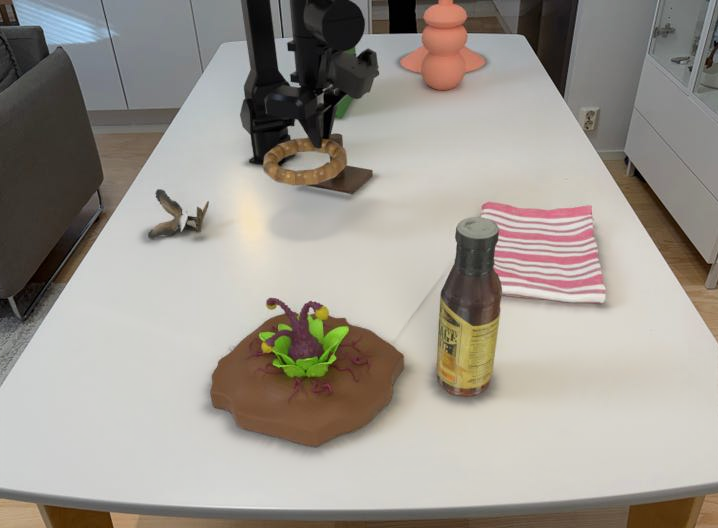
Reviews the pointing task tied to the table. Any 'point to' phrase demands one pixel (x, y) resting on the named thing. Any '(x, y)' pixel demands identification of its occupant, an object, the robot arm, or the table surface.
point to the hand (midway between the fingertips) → (321, 145)
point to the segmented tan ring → (304, 175)
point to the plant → (306, 376)
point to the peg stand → (345, 175)
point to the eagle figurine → (176, 217)
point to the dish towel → (547, 253)
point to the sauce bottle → (470, 311)
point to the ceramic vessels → (443, 48)
